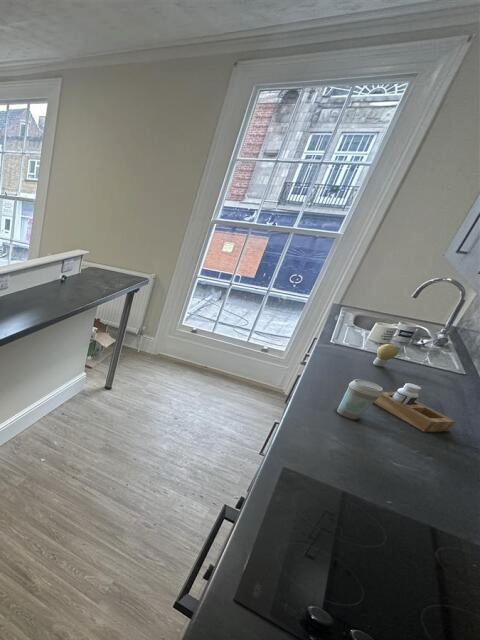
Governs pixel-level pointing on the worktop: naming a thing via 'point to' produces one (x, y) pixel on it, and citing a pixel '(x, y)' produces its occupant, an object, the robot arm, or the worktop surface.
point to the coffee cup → (359, 398)
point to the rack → (415, 414)
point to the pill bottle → (407, 394)
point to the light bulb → (385, 354)
